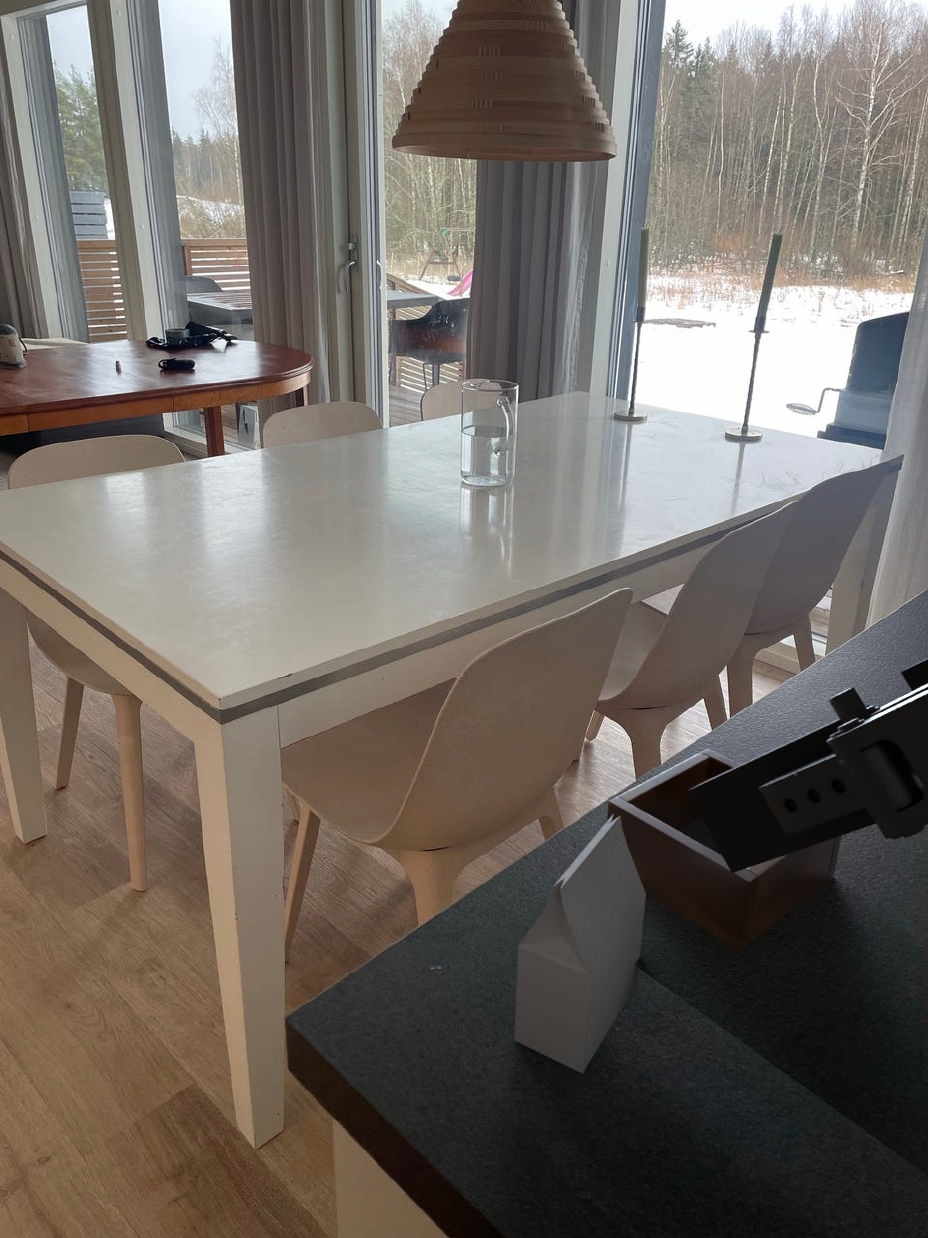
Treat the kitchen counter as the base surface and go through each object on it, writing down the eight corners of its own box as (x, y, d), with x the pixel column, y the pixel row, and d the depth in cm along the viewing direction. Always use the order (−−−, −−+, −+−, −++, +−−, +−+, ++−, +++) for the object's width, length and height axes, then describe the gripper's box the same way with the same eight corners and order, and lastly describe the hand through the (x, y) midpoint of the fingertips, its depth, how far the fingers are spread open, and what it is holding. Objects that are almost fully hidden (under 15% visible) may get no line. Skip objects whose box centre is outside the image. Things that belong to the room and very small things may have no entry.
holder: (697, 829, 62) (707, 748, 60) (829, 902, 56) (846, 814, 53) (600, 888, 57) (608, 801, 54) (734, 978, 50) (749, 882, 48)
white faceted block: (636, 984, 49) (653, 826, 46) (582, 1073, 44) (595, 903, 40) (573, 957, 51) (584, 803, 47) (514, 1040, 46) (521, 874, 42)
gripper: (2244, 792, 8) (658, 1041, 24) (1846, 441, 23) (1036, 740, 39) (1592, 128, 10) (524, 779, 26) (1622, 208, 25) (936, 587, 41)
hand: (832, 756), depth 32 cm, fingers open, 13 cm apart
